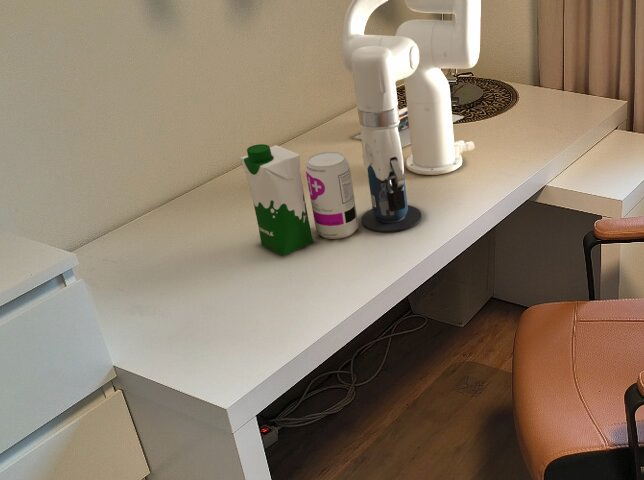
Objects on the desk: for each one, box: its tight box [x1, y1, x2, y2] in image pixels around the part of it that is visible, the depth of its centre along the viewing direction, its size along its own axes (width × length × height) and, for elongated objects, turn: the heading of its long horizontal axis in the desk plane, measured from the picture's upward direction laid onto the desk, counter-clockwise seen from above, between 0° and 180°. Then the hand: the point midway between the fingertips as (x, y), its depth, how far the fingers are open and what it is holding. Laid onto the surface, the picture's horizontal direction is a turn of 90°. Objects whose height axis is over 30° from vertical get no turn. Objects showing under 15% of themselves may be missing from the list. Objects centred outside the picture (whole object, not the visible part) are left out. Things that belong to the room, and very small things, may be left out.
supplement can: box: [304, 151, 359, 240], centre depth 174 cm, size 8×8×15 cm
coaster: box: [360, 204, 423, 234], centre depth 182 cm, size 12×12×1 cm
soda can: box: [366, 163, 409, 223], centre depth 178 cm, size 7×7×12 cm
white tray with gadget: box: [352, 106, 465, 149], centre depth 223 cm, size 14×25×4 cm, turn 146°
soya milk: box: [239, 143, 314, 257], centre depth 168 cm, size 9×9×20 cm
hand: (389, 202), depth 180 cm, fingers closed on soda can, 7 cm apart
